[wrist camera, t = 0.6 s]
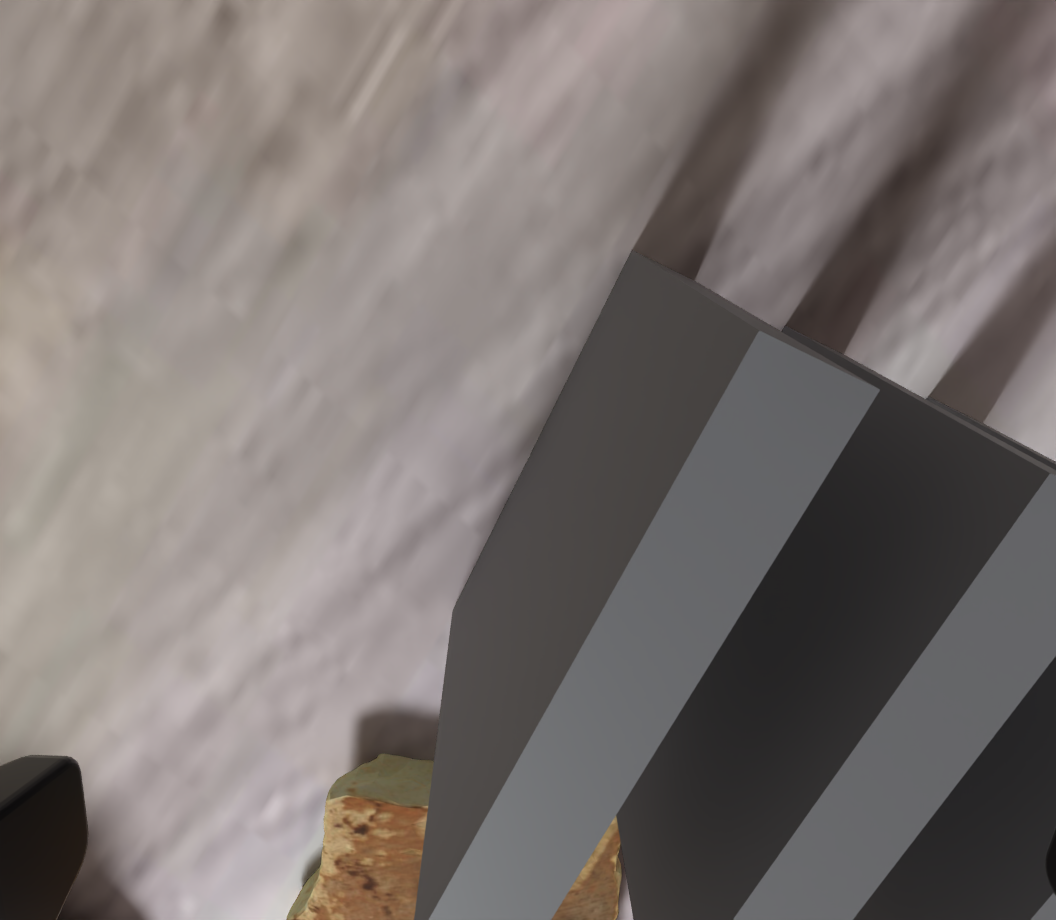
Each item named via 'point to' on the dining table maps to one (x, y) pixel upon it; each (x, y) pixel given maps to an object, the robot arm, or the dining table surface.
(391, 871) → the shard
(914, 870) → the domino
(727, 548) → the domino
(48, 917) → the robot arm
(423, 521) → the dining table surface
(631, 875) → the domino
